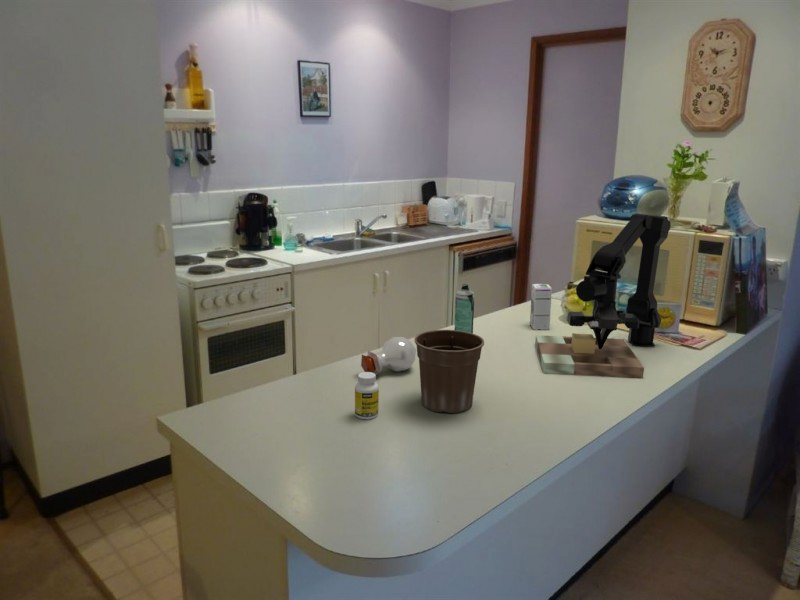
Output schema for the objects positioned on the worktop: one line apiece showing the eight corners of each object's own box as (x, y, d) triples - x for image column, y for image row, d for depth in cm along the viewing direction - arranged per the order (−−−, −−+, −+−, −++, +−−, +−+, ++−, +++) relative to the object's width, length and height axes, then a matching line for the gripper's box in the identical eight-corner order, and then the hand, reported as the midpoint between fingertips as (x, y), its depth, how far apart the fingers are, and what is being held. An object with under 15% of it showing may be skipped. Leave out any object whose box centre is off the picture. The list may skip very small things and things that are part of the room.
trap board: (622, 348, 188) (623, 339, 187) (642, 378, 165) (644, 367, 164) (535, 344, 191) (535, 335, 190) (543, 373, 168) (544, 362, 167)
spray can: (475, 348, 186) (478, 284, 181) (467, 353, 182) (469, 287, 177) (458, 345, 189) (461, 281, 184) (450, 350, 185) (452, 285, 180)
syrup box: (549, 330, 205) (553, 287, 201) (532, 329, 205) (534, 287, 201) (546, 325, 210) (549, 283, 207) (528, 324, 211) (531, 283, 207)
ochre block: (590, 347, 179) (591, 334, 178) (594, 353, 174) (595, 340, 173) (571, 346, 180) (572, 333, 179) (574, 352, 175) (575, 339, 174)
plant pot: (444, 384, 160) (446, 324, 155) (495, 403, 148) (498, 339, 144) (399, 402, 149) (400, 338, 144) (450, 424, 137) (452, 356, 133)
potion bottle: (417, 372, 172) (371, 389, 164) (400, 345, 176) (354, 361, 168) (427, 352, 165) (380, 370, 157) (408, 325, 169) (361, 341, 162)
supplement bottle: (360, 422, 138) (360, 381, 136) (351, 412, 143) (350, 372, 140) (382, 417, 141) (382, 376, 138) (372, 408, 145) (372, 368, 143)
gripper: (575, 301, 166) (570, 357, 170) (647, 304, 164) (641, 360, 168) (568, 291, 176) (564, 343, 180) (636, 294, 174) (631, 346, 178)
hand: (599, 348), depth 176 cm, fingers closed
